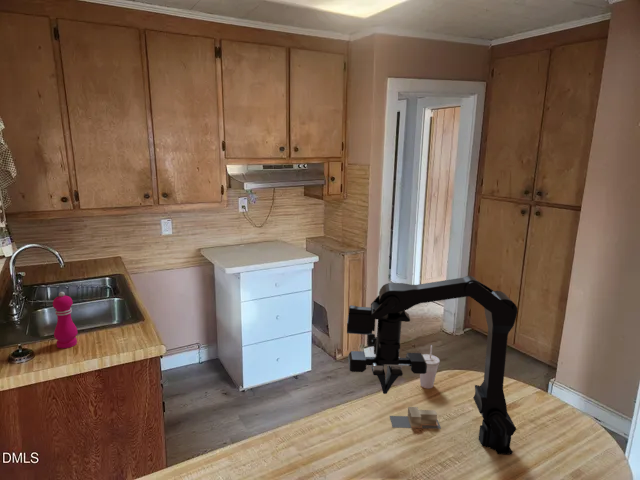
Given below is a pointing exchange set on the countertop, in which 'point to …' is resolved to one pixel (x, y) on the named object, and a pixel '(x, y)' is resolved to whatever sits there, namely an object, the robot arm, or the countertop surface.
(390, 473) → the countertop surface
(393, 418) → the mat
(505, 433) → the robot arm
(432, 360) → the smoothie
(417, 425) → the t block
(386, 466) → the countertop surface
